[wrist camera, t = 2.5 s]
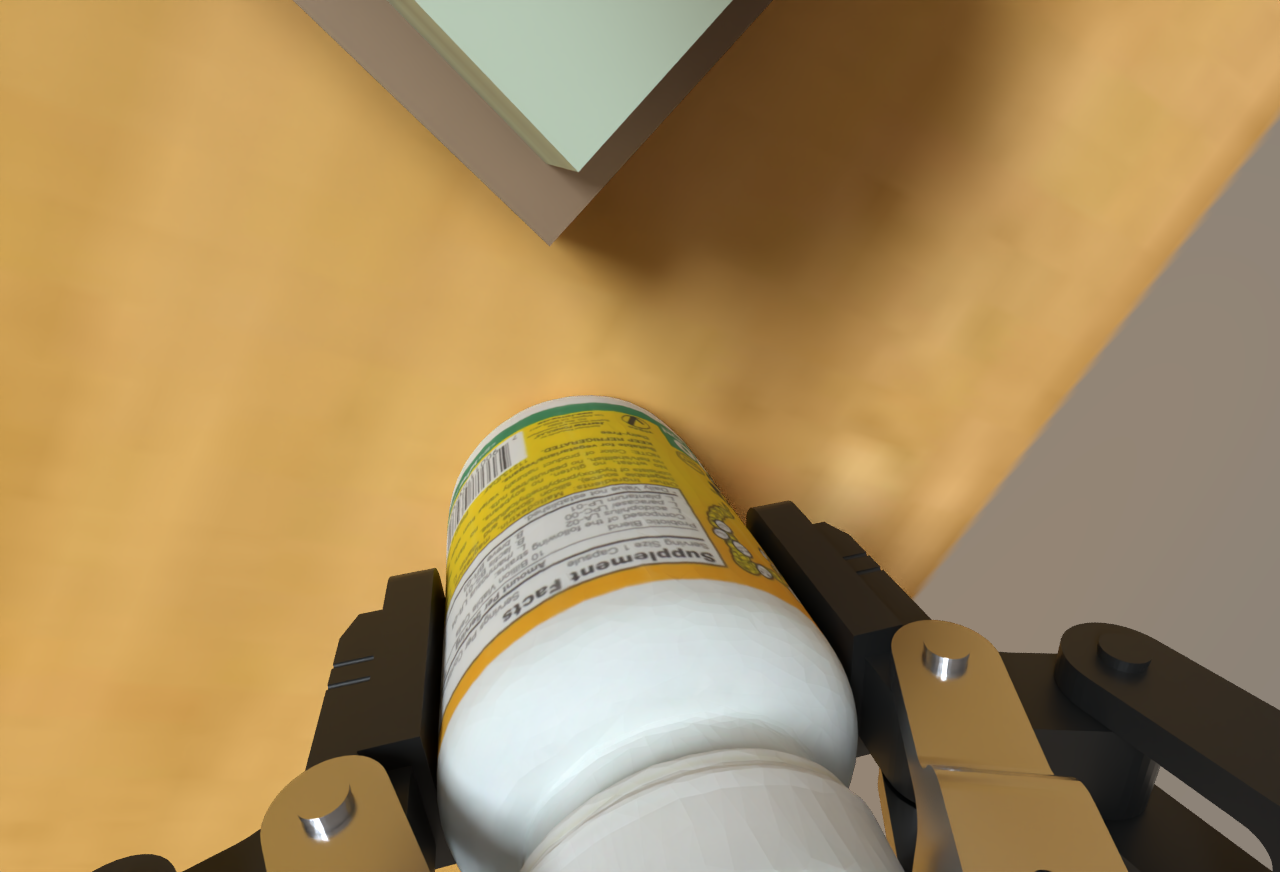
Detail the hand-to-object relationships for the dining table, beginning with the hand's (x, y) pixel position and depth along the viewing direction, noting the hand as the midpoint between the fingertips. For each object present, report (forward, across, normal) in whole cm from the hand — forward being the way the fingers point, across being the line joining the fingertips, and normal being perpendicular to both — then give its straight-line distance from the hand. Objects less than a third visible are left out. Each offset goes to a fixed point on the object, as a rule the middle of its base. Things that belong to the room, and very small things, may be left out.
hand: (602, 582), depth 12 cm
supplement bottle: (+3, 0, 0) cm, 3 cm away
